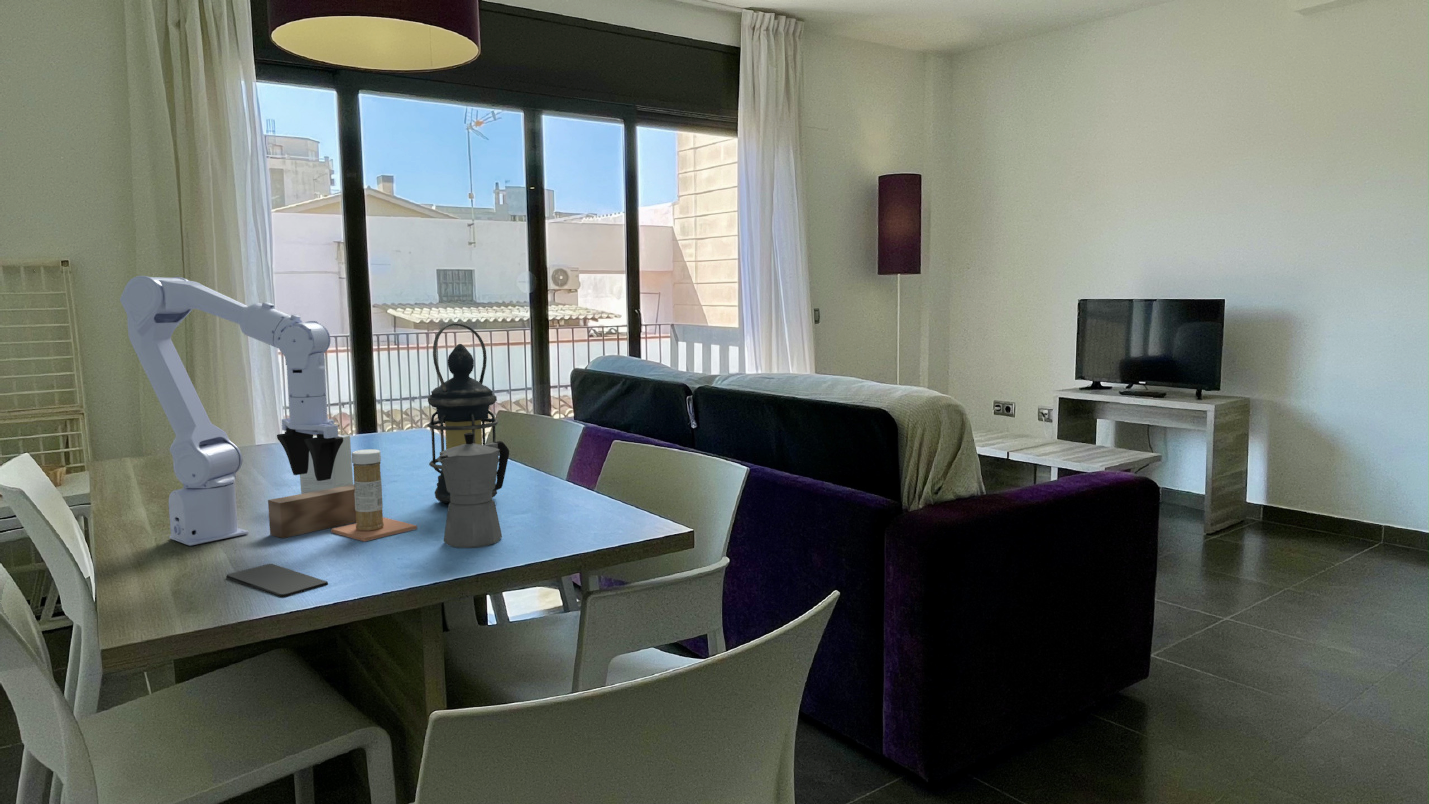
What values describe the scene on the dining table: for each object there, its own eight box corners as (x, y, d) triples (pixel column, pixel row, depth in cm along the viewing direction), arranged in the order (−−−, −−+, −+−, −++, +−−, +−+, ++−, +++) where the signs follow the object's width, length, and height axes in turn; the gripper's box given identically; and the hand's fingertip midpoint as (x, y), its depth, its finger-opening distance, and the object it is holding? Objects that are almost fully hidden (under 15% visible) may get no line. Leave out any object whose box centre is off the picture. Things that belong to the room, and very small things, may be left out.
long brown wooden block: (282, 538, 148) (279, 503, 147) (269, 534, 150) (266, 499, 150) (379, 517, 162) (377, 484, 161) (365, 513, 165) (364, 482, 164)
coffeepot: (464, 554, 138) (460, 440, 136) (421, 546, 142) (416, 436, 140) (531, 532, 151) (528, 427, 149) (489, 525, 156) (486, 424, 154)
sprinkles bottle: (366, 524, 154) (363, 448, 153) (389, 525, 153) (386, 449, 152) (349, 530, 150) (345, 452, 149) (373, 532, 149) (369, 453, 147)
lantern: (467, 513, 165) (460, 324, 161) (414, 506, 170) (405, 324, 166) (516, 497, 177) (510, 322, 173) (464, 492, 183) (458, 322, 179)
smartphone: (282, 595, 118) (224, 574, 126) (282, 601, 118) (224, 580, 127) (330, 581, 124) (271, 562, 132) (330, 587, 124) (271, 568, 132)
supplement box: (355, 496, 180) (351, 434, 178) (336, 504, 172) (332, 440, 171) (320, 495, 180) (316, 434, 179) (300, 504, 173) (296, 440, 172)
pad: (364, 541, 146) (364, 537, 146) (331, 532, 152) (331, 528, 152) (417, 528, 154) (416, 525, 153) (383, 520, 160) (383, 517, 159)
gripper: (354, 396, 144) (358, 478, 146) (308, 390, 153) (312, 468, 155) (312, 400, 139) (316, 485, 140) (267, 394, 148) (272, 474, 149)
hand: (311, 477), depth 147 cm, fingers open, 7 cm apart
